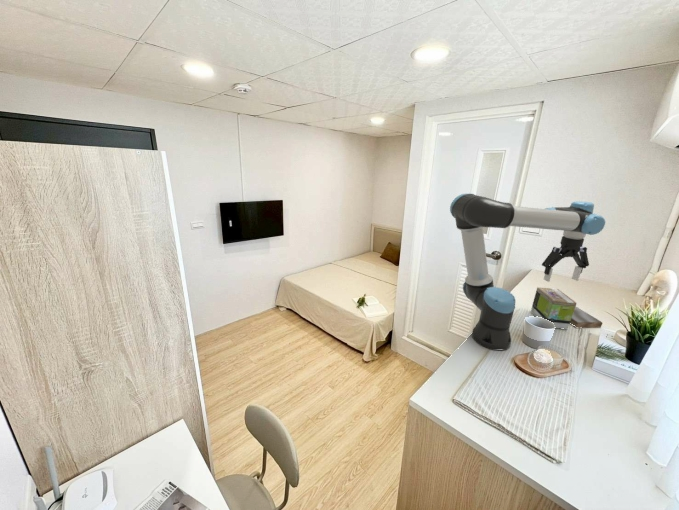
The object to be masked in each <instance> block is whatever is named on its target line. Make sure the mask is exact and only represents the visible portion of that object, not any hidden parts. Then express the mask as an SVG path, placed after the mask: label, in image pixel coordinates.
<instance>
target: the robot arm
mask: <svg viewBox="0 0 679 510" xmlns="http://www.w3.org/2000/svg"><path fill="white" fill-rule="evenodd" d="M449 207H450V208H449V211H450V212H449V213H450V214H451V216H452V217H453V218H454V219H455V225H456V229H457V230H458V231H459V230H460V232H461V233H460V234H461V239H462V246H463V253H464V258H465V259H464V260H465V265H466V266H465V267H466V271H467V276H466V277H465V278H464V282H463V284H462V291H463V293H464V295H465V297H466V298H467V299H469V300H470V301H471V303H473V304H474V305H475V306H476V308H477V309H479V310H480V315H479V319H478V322H477V323H476V324H475V326H474V327H473V329H472V334H471V337H472V339H473V340H474V341H475V342H476V343H477V344H479V345H480V346H482V347H485V348H487V349H490V350H493V349H506V350H508V349H509V348H510V347H511V344H512V337H511V332H510V326H511V323H512V321H513V320H512V319H513V315H514V312H515V308H516V296H514V294H513V293H511V292H510V291H508V290H507V289H503V287H497V286H494V279H493V276H492V275H491V274H489V268H488V260H487V253H486V244H485V235H484V228H492V229H493V228H497V229H498V228H499V229H507V228H508V227H509V228H510V227H516V228H529V229H539V230H541V229H542V230H550V231H551V230H552V231H553V230H554V231H563V232H562V236H561V240H560V247H556V246H553V247H552V249H551V252H549V254H548V255H547V257H546V258H545V259H544V260H543V262H542V263H541V266H542V267H544V271H543V273H544V276H543V280H544V281H546V282H547V283H550V282H551V278H552V274H553V270H554V269H553V267H555V266H556V265H557V264H558V263H559V262H560V261H561V260H563V259H565V258H573V260H574V262H575V263H576V265H575V266H574V269H573V273H572V276H571V279H572V280H575V281H576V282H577V281H579V278H580V277H581V274H582V273H583V269H586V268H587V267H589V266H590V263H589V262H590V261H589V258H588V253H587V252H588V251H587V250H588V247H585V246H583V244H584V241H585V238H586V235H590V236H592V235H597V234H599V233H600V232H602V230H604V227H605V225H606V219H605V218H604V217H603V216H601V215H598V214H595V213H594V208H595V204H594V203H593V202H590V201H580V200H579V201H578V200H575V201H572V202H571V203H570V206H566V207H565V206H564V207H562V206H561V207H559V206H558V207H554V206H552V207H546V208H538V207H537V208H536V207H527V206H515V205H514V204H513V203H511V202H505V201H499V200H495V199H492V198H488V197H486V196H482V195H477V194H474V193H462V194H459V195H458V196H456V197H455V198H454V199H453V200H452V202H451V203H450V206H449ZM507 348H508V349H507Z"/></svg>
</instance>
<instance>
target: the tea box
mask: <svg viewBox="0 0 679 510" xmlns="http://www.w3.org/2000/svg"><path fill="white" fill-rule="evenodd" d="M575 307H577V302H576V301H575V300H573V299H572V298H571V297H569V296H568V295H567V294H565V292H564V291H562V290H560V289H559V288H553V287H552V288H551V287H550V288H549V287H539V286H537V288H536V290H535V295H534V299H533V301H532V306H531V310H530V312H531V313H532V314H533V315H534V317H535V316H538V317H542V318H544V319H547V320H549V321H551V322H553V323H554V325H555V327H556V328H564V329H563V330H565V329H567V330H568V329H569V326H570V325H571V324H570V321H571V318H572V315H573V312H574V309H575Z"/></svg>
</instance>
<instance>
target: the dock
mask: <svg viewBox="0 0 679 510" xmlns="http://www.w3.org/2000/svg"><path fill="white" fill-rule="evenodd" d="M570 323H571V324H573V325H575V326H576V327H582V328H581V329H590V328H592V329H593V328H599V329H601V327H602V326H603V321H601V320H599V319H598V318H596V317H594V316H592V315H591V314H590V313H588V312H586V311H584V310H583V309H581V308H579V307H577V306H576V307H575V309H574V312H573V315H572V318H571V321H570ZM571 324H570V325H571Z"/></svg>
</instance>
